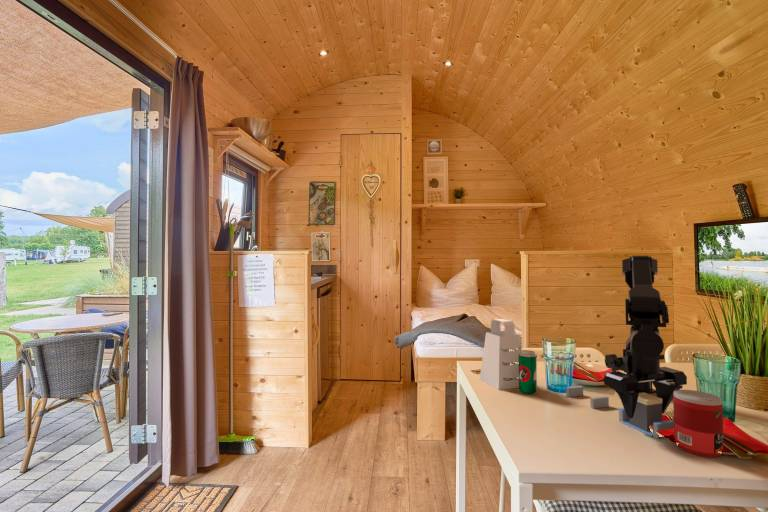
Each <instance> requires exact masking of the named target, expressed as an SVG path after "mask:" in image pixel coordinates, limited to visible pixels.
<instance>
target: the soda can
mask: <svg viewBox="0 0 768 512" xmlns="http://www.w3.org/2000/svg"><path fill="white" fill-rule="evenodd" d="M537 358H538V356H537V354H536V352H535V351H533V350H531V349H522V350H521V351H520V353H519V355H518V361H519V362H518V364H519V387H518V391H519V392H520V393H521V394H524V395H535V394H537V391H538V386H537V385H538V379H537V376H538V374H537V373H538V371H537V370H538V368H537V366H538V365H537V364H538V363H537V362H538V361H537Z"/></svg>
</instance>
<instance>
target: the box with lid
mask: <svg viewBox="0 0 768 512" xmlns="http://www.w3.org/2000/svg"><path fill="white" fill-rule="evenodd" d="M661 421H663V414H662V399H661V398H659V397H656V395H654V394H653V395H652V394H651V393H645V392H643V393H639V396H638V400H637V404H636V409H635V413H634V416H633V418H630V424H631V425H633V426H635V427H638V428H640V429H642V430H644V431H646V432H649V431H650V428H649V426H650V425H652V424H653V423H654V422H661Z"/></svg>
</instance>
